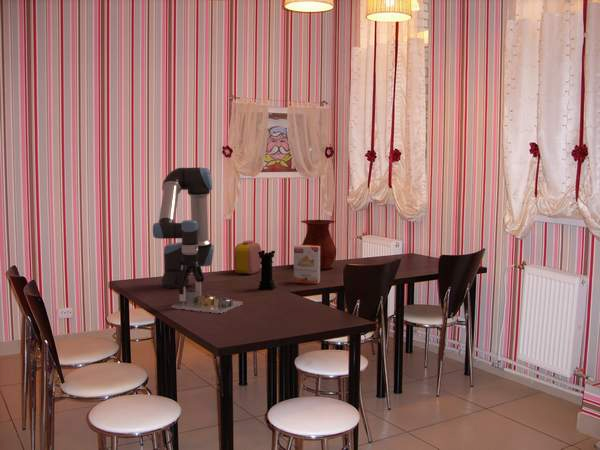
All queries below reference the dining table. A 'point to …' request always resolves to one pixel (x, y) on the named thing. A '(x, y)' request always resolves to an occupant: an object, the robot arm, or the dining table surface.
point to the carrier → (209, 304)
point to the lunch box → (247, 257)
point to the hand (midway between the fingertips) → (190, 298)
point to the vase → (321, 240)
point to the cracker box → (306, 264)
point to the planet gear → (191, 296)
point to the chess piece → (266, 271)
